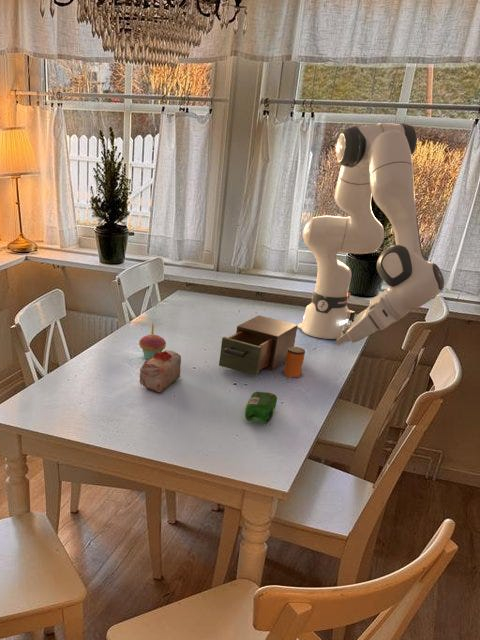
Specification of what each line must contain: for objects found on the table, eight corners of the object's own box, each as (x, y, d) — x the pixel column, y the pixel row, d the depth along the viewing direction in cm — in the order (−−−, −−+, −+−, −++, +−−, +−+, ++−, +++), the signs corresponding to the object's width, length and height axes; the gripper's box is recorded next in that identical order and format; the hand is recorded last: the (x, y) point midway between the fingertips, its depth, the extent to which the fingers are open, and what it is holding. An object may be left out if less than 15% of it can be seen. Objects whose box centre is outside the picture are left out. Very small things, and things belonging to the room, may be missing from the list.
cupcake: (162, 363, 203) (165, 326, 197) (135, 360, 205) (137, 323, 198) (166, 354, 211) (169, 317, 204) (140, 351, 212) (142, 314, 206)
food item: (161, 395, 183) (164, 362, 178) (136, 389, 186) (138, 356, 181) (182, 379, 193) (185, 347, 188) (158, 373, 196) (160, 342, 191)
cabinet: (271, 370, 202) (277, 336, 197) (232, 358, 209) (237, 326, 204) (291, 357, 213) (297, 324, 207) (253, 346, 219) (258, 315, 214)
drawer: (249, 380, 192) (253, 351, 188) (212, 369, 199) (215, 341, 194) (275, 363, 205) (280, 336, 200) (239, 353, 211) (243, 326, 206)
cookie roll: (288, 369, 203) (292, 345, 199) (303, 373, 201) (307, 349, 197) (281, 374, 200) (285, 349, 196) (296, 378, 197) (301, 354, 193)
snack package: (240, 426, 169) (243, 408, 166) (251, 402, 181) (254, 385, 178) (268, 432, 167) (271, 413, 164) (276, 407, 179) (280, 390, 176)
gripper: (383, 291, 188) (341, 319, 196) (372, 310, 172) (327, 338, 181) (395, 309, 188) (353, 336, 197) (385, 329, 173) (340, 357, 181)
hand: (340, 337), depth 189 cm, fingers open, 8 cm apart
